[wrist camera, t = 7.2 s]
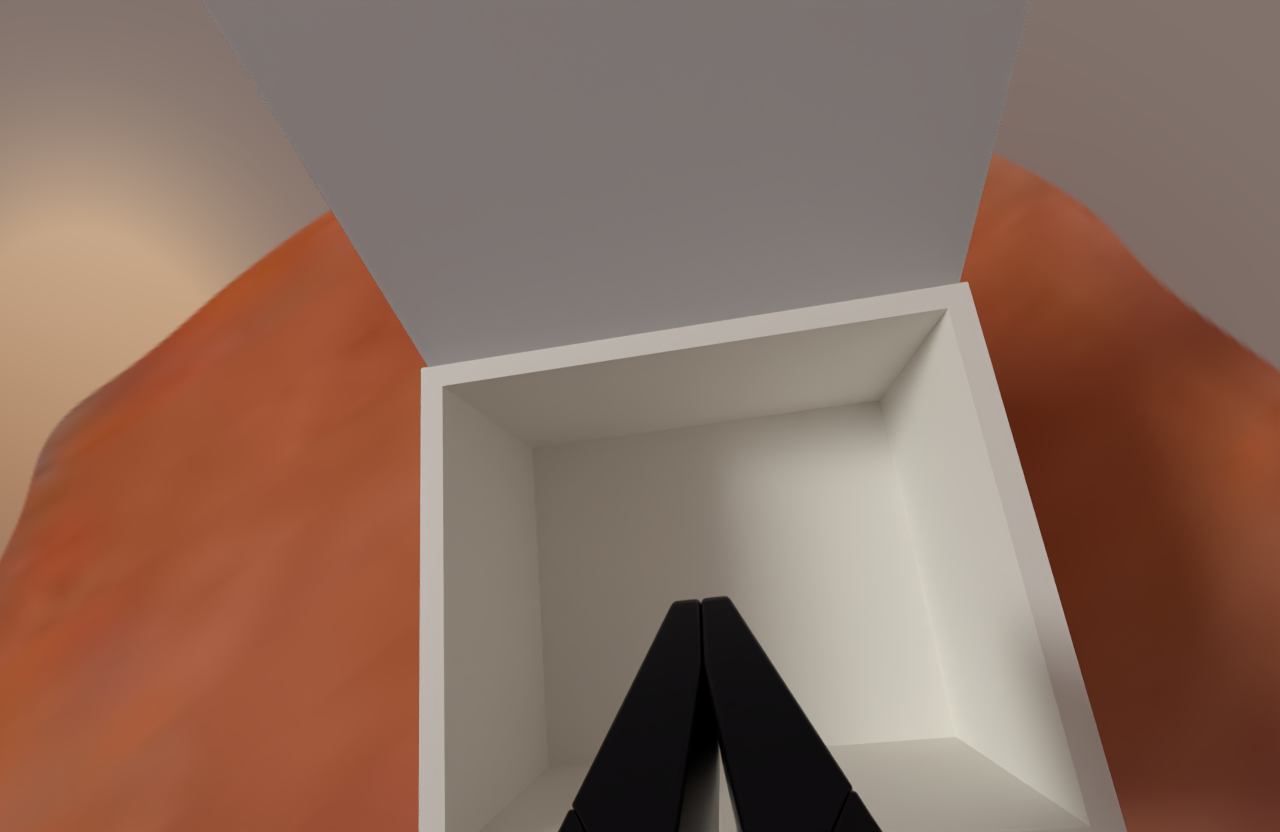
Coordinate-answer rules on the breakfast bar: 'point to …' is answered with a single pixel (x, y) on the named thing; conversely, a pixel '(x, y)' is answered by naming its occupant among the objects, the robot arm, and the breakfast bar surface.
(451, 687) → the carton
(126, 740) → the breakfast bar surface
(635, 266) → the carton flap
